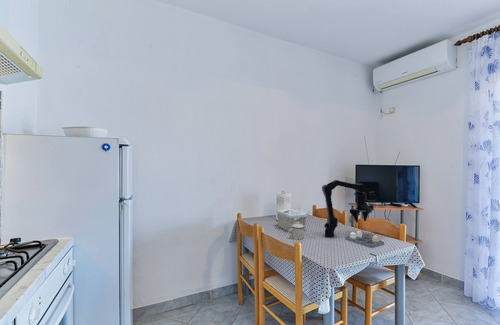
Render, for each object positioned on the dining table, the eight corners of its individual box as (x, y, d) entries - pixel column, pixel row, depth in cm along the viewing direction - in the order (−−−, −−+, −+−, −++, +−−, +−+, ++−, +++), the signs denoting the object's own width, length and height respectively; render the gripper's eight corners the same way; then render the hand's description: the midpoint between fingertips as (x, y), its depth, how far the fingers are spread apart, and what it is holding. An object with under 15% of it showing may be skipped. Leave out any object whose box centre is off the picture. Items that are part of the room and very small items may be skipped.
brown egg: (376, 245, 162) (376, 236, 162) (370, 243, 166) (370, 235, 166) (380, 244, 164) (380, 235, 164) (374, 242, 168) (374, 234, 168)
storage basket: (276, 226, 215) (276, 209, 215) (292, 224, 221) (292, 208, 221) (289, 233, 193) (289, 215, 193) (307, 231, 198) (307, 213, 198)
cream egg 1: (353, 241, 170) (353, 233, 170) (348, 239, 174) (348, 231, 174) (357, 240, 172) (357, 232, 172) (352, 238, 176) (352, 230, 176)
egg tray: (371, 249, 157) (371, 244, 157) (345, 240, 174) (345, 236, 174) (383, 245, 163) (383, 241, 163) (357, 237, 181) (357, 233, 181)
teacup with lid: (300, 235, 187) (300, 220, 187) (306, 239, 179) (306, 223, 179) (286, 237, 184) (286, 221, 184) (291, 240, 175) (291, 224, 175)
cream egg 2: (359, 239, 173) (359, 231, 173) (354, 238, 177) (354, 230, 177) (363, 238, 175) (363, 231, 175) (358, 237, 179) (358, 229, 179)
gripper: (362, 203, 169) (362, 226, 169) (379, 201, 178) (379, 222, 178) (349, 201, 179) (349, 222, 179) (365, 199, 188) (365, 219, 188)
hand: (361, 221), depth 181 cm, fingers open, 9 cm apart
